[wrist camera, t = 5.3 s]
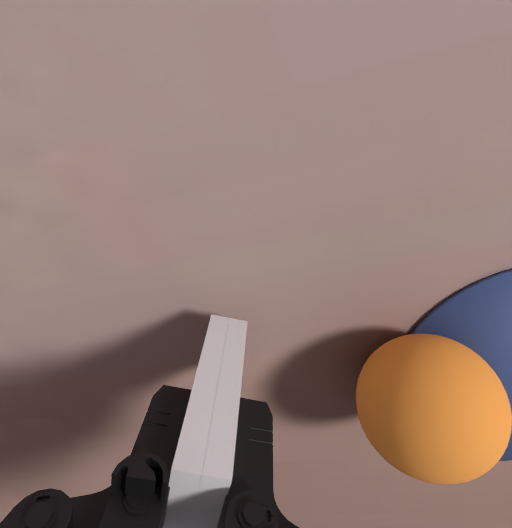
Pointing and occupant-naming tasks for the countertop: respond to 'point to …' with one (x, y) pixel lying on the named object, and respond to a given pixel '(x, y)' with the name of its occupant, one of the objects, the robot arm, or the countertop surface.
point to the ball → (433, 409)
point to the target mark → (480, 326)
